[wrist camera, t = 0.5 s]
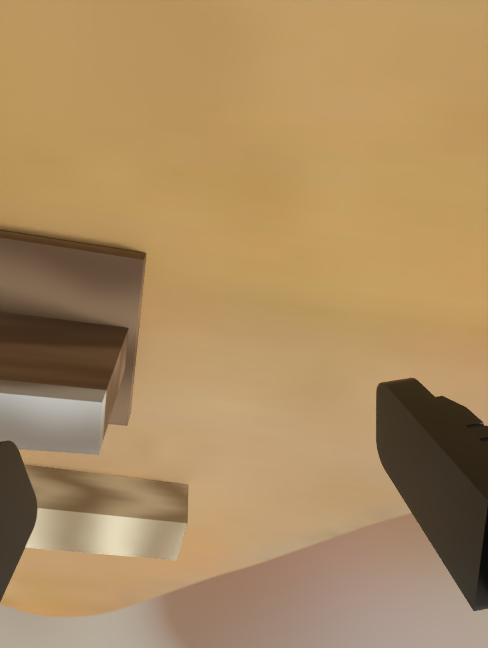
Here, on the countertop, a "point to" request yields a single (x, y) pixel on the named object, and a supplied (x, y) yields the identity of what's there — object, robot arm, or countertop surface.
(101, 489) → the pale gold metallic bar
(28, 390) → the balance stand
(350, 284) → the countertop surface
